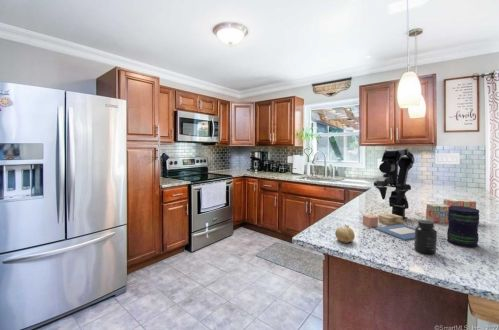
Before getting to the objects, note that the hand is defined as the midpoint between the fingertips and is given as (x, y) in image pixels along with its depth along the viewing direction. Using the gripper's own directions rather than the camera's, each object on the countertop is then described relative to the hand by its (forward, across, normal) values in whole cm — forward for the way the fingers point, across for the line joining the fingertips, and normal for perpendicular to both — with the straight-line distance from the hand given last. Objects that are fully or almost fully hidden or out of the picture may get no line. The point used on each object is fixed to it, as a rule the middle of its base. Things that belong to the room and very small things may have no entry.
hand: (390, 200), depth 128 cm
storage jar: (+13, +32, +4) cm, 34 cm away
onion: (+14, +14, -41) cm, 46 cm away
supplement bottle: (+13, +33, -19) cm, 40 cm away
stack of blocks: (+12, +9, +33) cm, 36 cm away
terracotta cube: (+13, 0, -13) cm, 18 cm away
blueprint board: (+12, +14, -7) cm, 20 cm away
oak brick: (+12, 0, +1) cm, 12 cm away
